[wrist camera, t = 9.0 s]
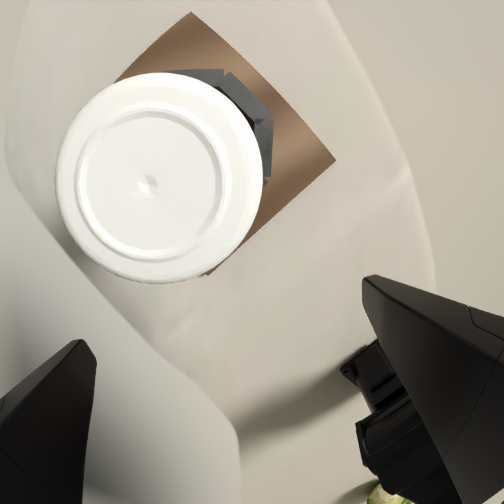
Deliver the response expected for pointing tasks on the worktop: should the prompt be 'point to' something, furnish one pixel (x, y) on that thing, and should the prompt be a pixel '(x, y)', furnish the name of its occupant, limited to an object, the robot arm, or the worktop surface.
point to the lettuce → (385, 497)
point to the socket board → (285, 121)
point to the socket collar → (241, 108)
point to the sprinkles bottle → (158, 178)
